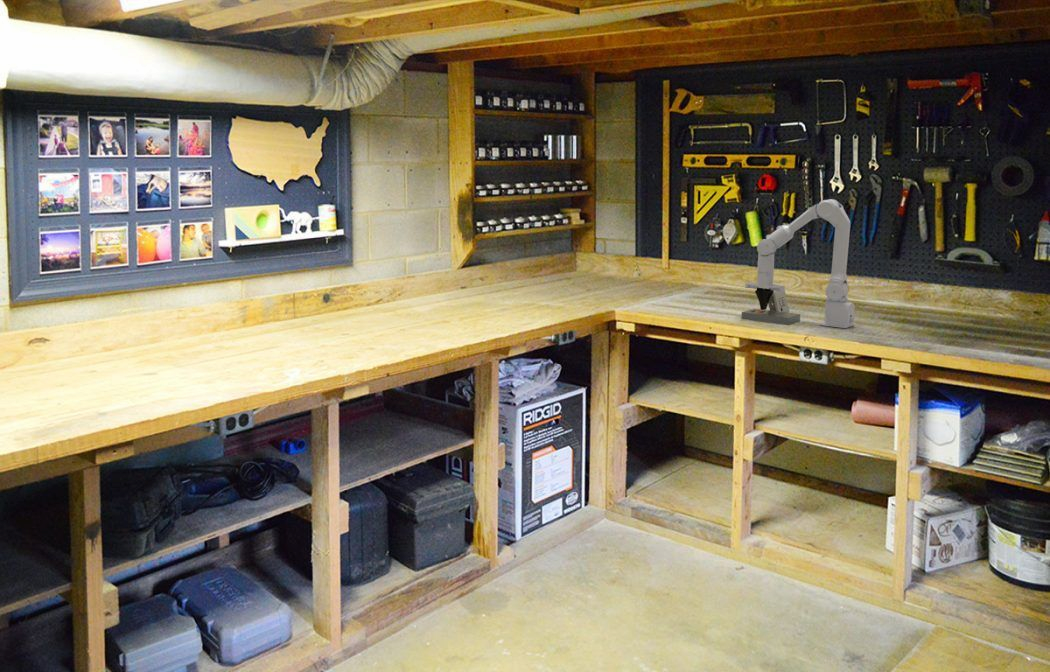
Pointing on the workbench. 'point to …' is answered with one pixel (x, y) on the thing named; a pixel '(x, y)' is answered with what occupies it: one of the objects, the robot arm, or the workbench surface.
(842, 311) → the robot arm
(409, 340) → the workbench surface
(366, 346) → the workbench surface
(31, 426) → the workbench surface
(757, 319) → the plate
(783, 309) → the electrical switch
